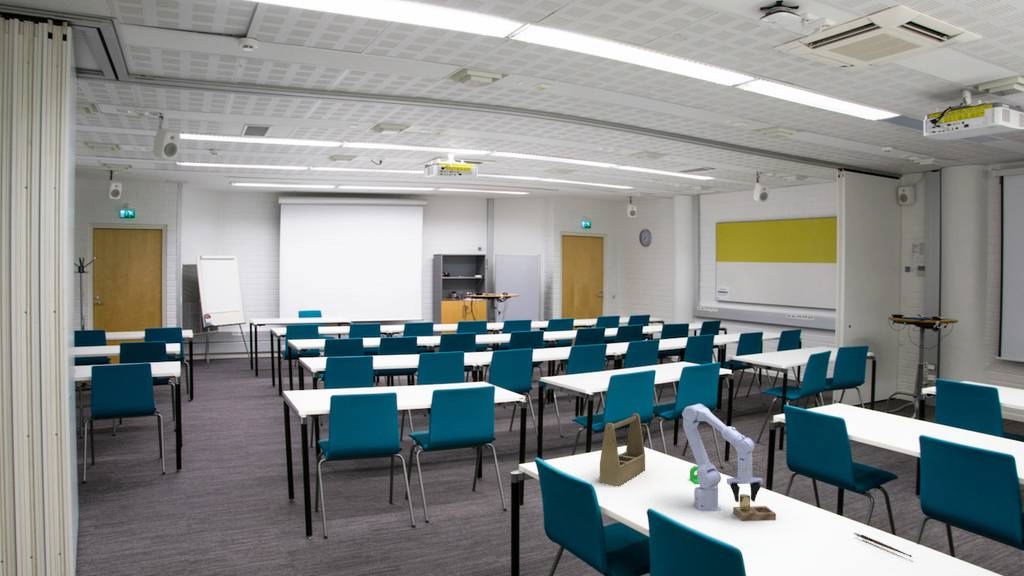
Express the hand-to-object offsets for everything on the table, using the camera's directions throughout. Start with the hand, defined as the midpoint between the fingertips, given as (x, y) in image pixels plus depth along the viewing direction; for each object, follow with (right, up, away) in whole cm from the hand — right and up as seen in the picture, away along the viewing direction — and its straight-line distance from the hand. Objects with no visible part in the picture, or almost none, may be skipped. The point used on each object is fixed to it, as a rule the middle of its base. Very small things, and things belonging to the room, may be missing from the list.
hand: (744, 501), depth 273 cm
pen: (+40, -6, -20) cm, 45 cm away
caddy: (-41, -6, +52) cm, 67 cm away
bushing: (0, -4, 0) cm, 4 cm away
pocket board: (+4, -6, 0) cm, 8 cm away
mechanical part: (-4, -6, +44) cm, 45 cm away
